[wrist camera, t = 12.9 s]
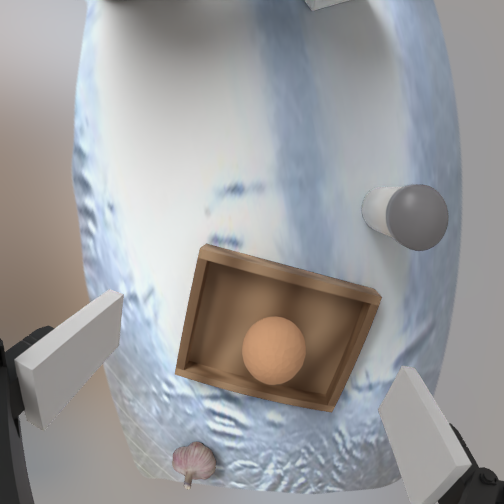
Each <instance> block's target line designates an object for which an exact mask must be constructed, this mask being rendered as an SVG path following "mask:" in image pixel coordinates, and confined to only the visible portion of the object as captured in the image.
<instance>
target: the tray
mask: <svg viewBox="0 0 504 504" xmlns="http://www.w3.org/2000/svg"><path fill="white" fill-rule="evenodd" d="M381 299H382V297H381V296H380V294H379V293H378V292H377V291H376V290H375V289H373V288H369V287H365V286H362V285H358V284H354V283H350V282H347V281H343V280H339V279H335V278H332V277H328V276H324V275H321V274H317V273H313V272H309V271H306V270H302V269H298V268H295V267H291V266H287V265H283V264H280V263H276V262H272V261H269V260H265V259H261V258H257V257H254V256H250V255H246V254H243V253H239V252H235V251H232V250H228V249H224V248H221V247H217V246H213V245H209V244H205V245H204V246H203V247H201V248H200V250H199V255H198V259H197V264H196V269H195V273H194V278H193V283H192V287H191V292H190V297H189V302H188V307H187V312H186V317H185V322H184V327H183V332H182V337H181V343H180V348H179V353H178V359H177V364H176V370H175V374H176V375H179V376H182V377H185V378H188V379H191V380H195V381H198V382H201V383H205V384H208V385H212V386H215V387H219V388H222V389H226V390H230V391H233V392H237V393H241V394H245V395H249V396H253V397H257V398H261V399H266V400H270V401H275V402H279V403H284V404H289V405H293V406H299V407H304V408H309V409H315V410H320V411H326V412H332V411H333V409H334V407H335V405H336V403H337V401H338V399H339V397H340V395H341V393H342V391H343V389H344V387H345V385H346V383H347V381H348V378H349V376H350V374H351V372H352V370H353V367H354V365H355V363H356V361H357V358H358V356H359V354H360V351H361V349H362V347H363V344H364V342H365V340H366V337H367V335H368V332H369V330H370V327H371V325H372V322H373V320H374V317H375V315H376V312H377V309H378V307H379V304H380V301H381ZM273 316H277V317H283V318H285V319H288V320H290V321H292V322H293V323H294V324H295V325H296V326H297V327H298V328H299V329H300V330H301V332H302V334H303V336H304V339H305V345H306V355H305V359H304V362H303V365H302V367H301V369H300V370H299V371H298V372H297V373H296V375H295V376H294V377H293V378H292V379H290V380H289V381H287V382H284V383H282V384H276V385H269V384H265V383H262V382H261V381H259V380H257V379H256V378H254V377H253V376H252V375H251V374H250V372H249V371H248V370H247V368H246V366H245V364H244V361H243V356H242V346H243V341H244V338H245V336H246V333H247V331H248V330H249V329H250V328H251V326H252V325H254V324H255V323H256V322H257V321H259V320H261V319H263V318H266V317H273Z"/></svg>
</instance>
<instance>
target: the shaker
mask: <svg viewBox="0 0 504 504" xmlns="http://www.w3.org/2000/svg"><path fill="white" fill-rule="evenodd" d="M362 215H363V218H364V220H365V222H366V223H367V225H368V226H369V227H371V228H372V229H374V230H376V231H378V232H381V233H383V234H385V235H387V236H389V237H391V238H394V239H395V240H396V241H397V242H398V243H399V244H401V245H403V246H405V247H407V248H409V249H412V250H415V251H424V250H428V249H430V248H432V247H434V246H435V245H436V244H437V243H439V241H440V240H441V239H442V237H443V236H444V234H445V232H446V229H447V225H448V209H447V206H446V203H445V201H444V199H443V197H442V196H441V195H440V193H439V192H438V191H436V190H435V189H434V188H432V187H430V186H427V185H407V186H404V187H377V188H374V189H372V190H371V191H369V192H368V193H367V194H366V196H365V197H364V200H363V202H362Z"/></svg>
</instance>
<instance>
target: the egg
mask: <svg viewBox="0 0 504 504" xmlns="http://www.w3.org/2000/svg"><path fill="white" fill-rule="evenodd" d="M305 355H306V345H305V339H304V336H303V334H302V332H301V330H300V329H299V328H298V327H297V326H296V325H295V324H294V323H293V322H292V321H290V320H288V319H285V318H283V317H277V316H273V317H266V318H263V319H261V320H259V321H257V322H256V323H255V324H254V325H252V326H251V328H250V329H249V330H248V331H247V333H246V336H245V338H244V341H243V346H242V356H243V361H244V364H245V366H246V368H247V370H248V371H249V372H250V374H251V375H252V376H253V377H254V378H256V379H257V380H259V381H261V382H262V383H265V384H269V385H276V384H282V383H284V382H287V381H289V380H290V379H292V378H293V377H294V376H295V375H296V373H297V372H298V371H299V370H300V369H301V367H302V365H303V362H304V359H305Z"/></svg>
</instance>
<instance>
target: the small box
mask: <svg viewBox="0 0 504 504" xmlns="http://www.w3.org/2000/svg"><path fill="white" fill-rule="evenodd" d="M304 1H305V2H306V3H307V5H308V6H309V7H310V9H311V10H312V11H315V10H318V9H321V8H325V7H328V6H331V5H335V4H338V3H342V2H346V1H349V0H304Z"/></svg>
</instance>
